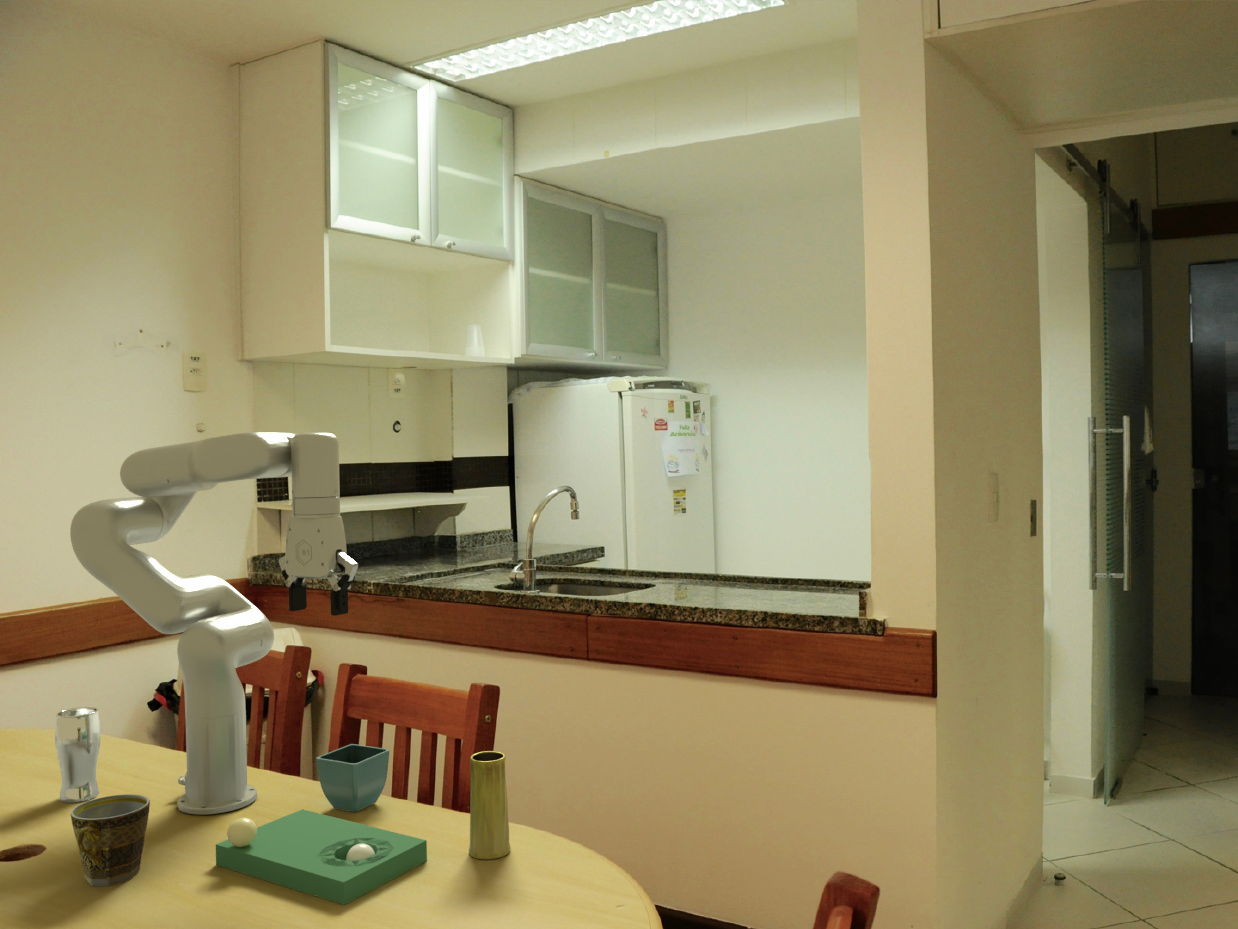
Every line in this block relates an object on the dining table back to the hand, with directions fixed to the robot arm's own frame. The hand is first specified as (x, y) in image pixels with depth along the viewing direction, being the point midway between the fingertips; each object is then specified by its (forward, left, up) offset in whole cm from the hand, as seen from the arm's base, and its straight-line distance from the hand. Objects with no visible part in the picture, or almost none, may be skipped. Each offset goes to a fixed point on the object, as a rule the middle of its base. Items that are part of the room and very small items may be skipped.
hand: (318, 612), depth 165 cm
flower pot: (+2, +5, -34) cm, 34 cm away
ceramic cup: (-7, -33, -34) cm, 48 cm away
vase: (+34, +1, -34) cm, 48 cm away
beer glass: (-44, -15, -34) cm, 57 cm away
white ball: (+23, -14, -31) cm, 41 cm away
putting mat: (+15, -14, -33) cm, 39 cm away
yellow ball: (+6, -20, -28) cm, 35 cm away
